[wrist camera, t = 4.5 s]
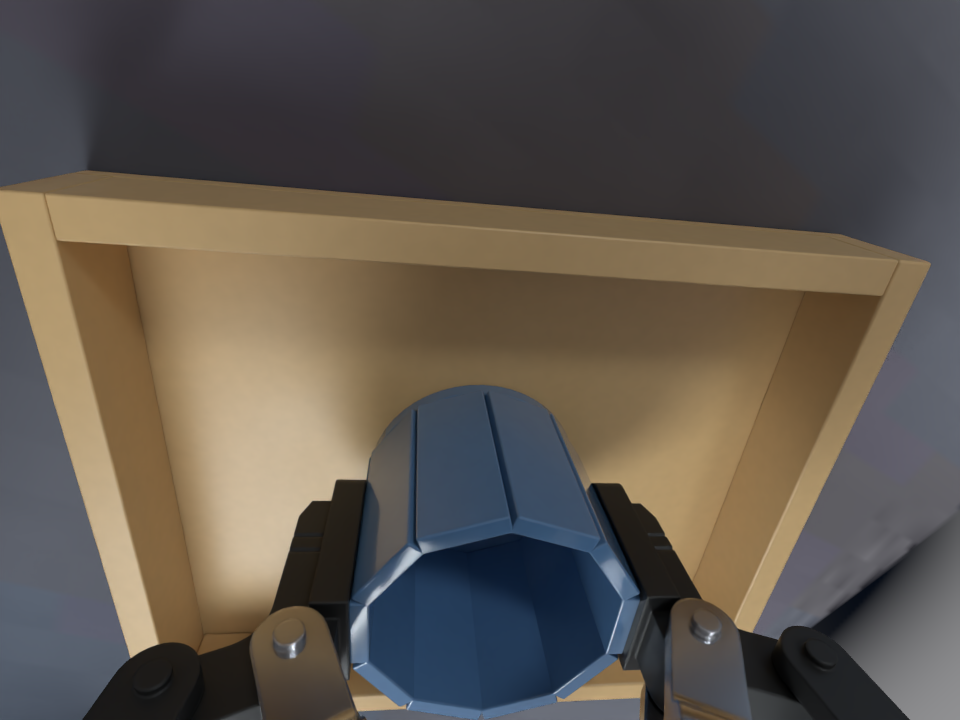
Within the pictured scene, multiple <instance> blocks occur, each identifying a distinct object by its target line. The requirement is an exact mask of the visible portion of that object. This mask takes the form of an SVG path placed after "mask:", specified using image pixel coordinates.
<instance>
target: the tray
mask: <svg viewBox="0 0 960 720" xmlns="http://www.w3.org/2000/svg"><path fill="white" fill-rule="evenodd" d="M0 224H1V227H2V230H3V234H4V237H5V240H6V244H7V247H8V250H9V254H10V257H11V260H12V264H13V267H14V270H15V274H16V277H17V280H18V284H19V287H20V290H21V294H22V297H23V300H24V304H25V307H26V310H27V314H28V317H29V320H30V324H31V327H32V330H33V334H34V337H35V340H36V344H37V347H38V350H39V354H40V357H41V361H42V364H43V367H44V371H45V374H46V377H47V381H48V384H49V387H50V391H51V394H52V397H53V401H54V404H55V407H56V411H57V414H58V417H59V421H60V424H61V427H62V431H63V434H64V437H65V441H66V444H67V447H68V451H69V454H70V457H71V461H72V464H73V467H74V471H75V474H76V477H77V481H78V484H79V487H80V491H81V494H82V497H83V501H84V504H85V508H86V511H87V514H88V518H89V521H90V524H91V528H92V531H93V534H94V538H95V541H96V544H97V548H98V551H99V554H100V558H101V561H102V564H103V568H104V571H105V574H106V578H107V581H108V584H109V588H110V591H111V594H112V598H113V601H114V604H115V608H116V611H117V614H118V618H119V621H120V624H121V628H122V631H123V634H124V638H125V641H126V644H127V648H128V651H129V655H130V658H132V657H133V656H135V655H136V654H138V653H139V652H141V651H143V650H145V649H147V648H149V647H152V646H155V645H158V644H162V643H169V642H177V643H183V644H186V645H188V646H190V647H191V648H193V649H194V650H195V651H196V653H197V654H198V655H201V654H204V653H207V652H210V651H213V650H217V649H220V648H223V647H226V646H229V645H232V644H234V643H237V642H239V641H241V640H243V639H245V638H246V637H248V636H249V635H251V634H252V633H253V632H254V631H255V629H256V628H257V627H258V625H259V624H260V623H261V622H262V621H263V620H264V619H265V618H267V617H268V615H269V614H270V612H271V609H272V607H273V603H274V600H275V596H276V593H277V590H278V586H279V583H280V579H281V576H282V573H283V569H284V566H285V562H286V559H287V555H288V552H289V550H290V545H291V542H292V538H293V537H294V532H295V528H296V525H297V521H298V518H299V515H300V514H301V513H302V512H303V511H304V510H305V509H306V508H307V506H308V505H309V504H310V503H311V502H312V501H331V500H332V495H333V491H334V486H335V482H336V480H337V479H343V480H366V476H367V470H368V463H369V458H370V457H371V454H372V451H373V450H374V449H375V447H376V445H377V442H378V440H379V438H380V437H381V435H382V433H383V432H384V430H385V429H386V428H387V426H388V425H389V424H390V423H391V422H392V420H393V419H394V418H395V417H396V416H398V415H399V414H400V413H401V412H402V411H403V410H404V409H406V408H407V407H409V406H410V405H412V404H413V403H414V402H416V401H418V400H420V399H422V398H424V397H426V396H428V395H430V394H433V393H435V392H438V391H441V390H445V389H449V388H452V387H458V386H465V385H491V386H499V387H503V388H508V389H512V390H514V391H517V392H520V393H523V394H525V395H527V396H529V397H531V398H533V399H535V400H536V401H538V402H539V403H541V404H542V405H543V406H545V407H546V408H547V409H548V410H549V411H550V412H551V413H552V414H553V415H554V416H555V417H556V418H557V420H558V421H559V422H560V423H561V425H562V427H563V429H564V430H565V432H566V434H567V437H568V439H569V441H570V442H571V444H572V445H573V447H574V449H575V450H576V452H577V453H578V455H579V457H580V459H581V461H582V464H583V466H584V468H585V470H586V473H587V475H588V477H589V479H590V481H591V483H619V484H621V485H622V486H623V488H624V490H625V492H626V494H627V495H628V497H629V499H630V501H631V503H641V504H642V505H643V506H644V507H645V508H646V509H647V510H648V511H649V512H650V513H652V514H653V515H654V516H655V517H656V519H657V520H658V522H659V524H660V526H661V527H662V529H663V531H664V533H665V537H667V538H668V540H669V541H670V543H671V545H672V549H673V550H675V552H676V554H677V556H678V557H679V559H680V561H681V563H682V564H683V566H684V568H685V570H686V571H687V573H688V575H689V577H690V578H691V580H692V582H693V584H694V585H695V587H696V589H697V591H698V592H699V594H700V596H701V598H702V599H703V600H705V601H707V602H710V603H712V604H713V605H715V606H717V607H718V608H720V609H721V610H722V611H724V612H725V613H726V614H727V615H728V616H729V617H730V618H731V619H732V621H733V622H734V623H735V625H736V627H737V628H738V629H741V630H744V631H747V632H751V633H752V632H753V630H754V628H755V626H756V624H757V622H758V620H759V618H760V616H761V614H762V611H763V609H764V607H765V605H766V603H767V601H768V599H769V597H770V595H771V593H772V591H773V589H774V587H775V585H776V583H777V581H778V579H779V576H780V574H781V572H782V570H783V568H784V566H785V564H786V562H787V560H788V558H789V556H790V554H791V552H792V550H793V548H794V546H795V544H796V542H797V539H798V537H799V535H800V533H801V531H802V529H803V527H804V525H805V523H806V521H807V519H808V517H809V515H810V513H811V511H812V509H813V507H814V505H815V502H816V500H817V498H818V496H819V494H820V492H821V490H822V488H823V486H824V484H825V482H826V480H827V478H828V476H829V474H830V472H831V470H832V467H833V465H834V463H835V461H836V459H837V457H838V455H839V453H840V451H841V449H842V447H843V445H844V443H845V441H846V439H847V437H848V435H849V433H850V430H851V428H852V426H853V424H854V422H855V420H856V418H857V416H858V414H859V412H860V410H861V408H862V406H863V404H864V402H865V400H866V398H867V396H868V393H869V391H870V389H871V387H872V385H873V383H874V381H875V379H876V377H877V375H878V373H879V371H880V369H881V367H882V365H883V363H884V361H885V359H886V356H887V354H888V352H889V350H890V348H891V346H892V344H893V342H894V340H895V338H896V336H897V334H898V332H899V330H900V328H901V326H902V324H903V321H904V319H905V317H906V315H907V313H908V311H909V309H910V307H911V305H912V303H913V301H914V299H915V297H916V295H917V293H918V291H919V289H920V287H921V284H922V282H923V280H924V278H925V276H926V274H927V272H928V270H929V268H930V266H931V264H930V263H929V262H927V261H924V260H921V259H918V258H915V257H911V256H908V255H905V254H902V253H899V252H895V251H892V250H889V249H886V248H882V247H879V246H876V245H873V244H870V243H866V242H863V241H860V240H857V239H852V238H851V237H847V236H844V235H841V234H832V233H820V232H808V231H796V230H785V229H773V228H761V227H749V226H737V225H726V224H714V223H702V222H690V221H678V220H667V219H655V218H643V217H631V216H619V215H608V214H596V213H584V212H572V211H560V210H548V209H537V208H525V207H513V206H501V205H489V204H478V203H466V202H454V201H442V200H430V199H419V198H407V197H395V196H383V195H371V194H360V193H348V192H336V191H324V190H312V189H301V188H289V187H277V186H265V185H253V184H241V183H230V182H218V181H206V180H194V179H182V178H171V177H159V176H147V175H135V174H123V173H112V172H100V171H88V170H85V171H80V172H75V173H69V174H64V175H59V176H54V177H49V178H44V179H39V180H34V181H29V182H24V183H19V184H14V185H9V186H4V187H0ZM352 665H353V663H351V670H350V678H349V680H346V681H347V683H348V686H349V689H350V692H351V695H352V698H353V701H354V704H355V706H356V709H357V711H374V710H395V709H406V705H404V706H401V707H399V706H398V705H396V704H395V703H394V702H393V701H392V700H390V699H389V698H388V697H387V696H385V695H384V694H383V693H382V692H380V691H379V690H378V689H377V688H376V687H374V686H373V685H372V684H371V683H369V682H368V681H367V680H366V679H364V678H363V677H362V676H361V675H360V674H358V673H357V672H356V671H355V670H353V668H352ZM644 682H645V681H644V679H643V676H642V673H641V671H640V670H625V671H623V669H622V666H621V663H620V661H619V658H618V660H616V661H615V662H614V663H612V664H611V665H610V666H608V667H607V668H606V669H604V670H603V671H602V672H600V673H599V674H598V675H596V676H595V677H594V678H592V679H591V680H589V681H588V682H587V683H585V684H584V685H583V686H581V687H580V688H579V689H577V690H576V691H575V692H573V693H572V694H571V695H569V696H568V697H567V698H565V699H562V698H559V697H557V702H563V701H584V700H605V699H626V698H640V697H641V690H642V687H643V684H644Z"/></svg>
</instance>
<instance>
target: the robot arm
mask: <svg viewBox="0 0 960 720" xmlns="http://www.w3.org/2000/svg"><path fill="white" fill-rule="evenodd" d="M366 483H367V481H366V480H343V479H337V480H336V482H335V486H334V491H333V495H332V500H331V501H312V502H311V503H310V504H309V505H308V506H307V508H306V509H305V510H304V511H303V512H302V513H301V514H300V515H299V518H298V521H297V525H296V528H295V532H294V537H293V538H292V542H291V545H290V550H289V552H288V555H287V559H286V562H285V566H284V569H283V573H282V576H281V579H280V583H279V586H278V590H277V593H276V596H275V600H274V603H273V607H272V609H271V612H270V614H269V615H268V617H267V618H265V619H264V620H263V621H262V622H261V623H260V624H259V625H258V627H257V628H256V629H255V631H254V632H253V633H252V634H251V635H249V636H248V637H246V638H245V639H243V640H241V641H239V642H237V643H234V644H232V645H229V646H226V647H223V648H220V649H217V650H213V651H210V652H207V653H204V654H201V655H198V654H197V653H196V651H195V650H194V649H193V648H191V647H190V646H188V645H186V644H183V643H177V642H169V643H162V644H158V645H155V646H152V647H149V648H147V649H145V650H143V651H141V652H139V653H138V654H136V655H135V656H133V657H132V658H131V659H129V660H128V661H127V662H126V663H125V664H124V665H123V666H122V667H121V668H120V669H119V670H118V671H117V672H116V674H115V675H114V676H113V678H112V679H111V680H110V682H109V683H108V685H107V686H106V687H105V689H104V690H103V692H102V693H101V694H100V696H99V697H98V699H97V700H96V701H95V703H94V704H93V706H92V707H91V708H90V710H89V711H88V713H87V714H86V715H85V717H84V718H83V720H366V718H365V717H364V716H363V715H361V716H360V715H359V713H358V711H357V709H356V706H355V704H354V701H353V698H352V695H351V692H350V689H349V686H348V683H347V681H346V680H349V678H350V670H351V663H350V615H349V604H350V597H351V590H352V583H353V576H354V568H355V561H356V554H357V547H358V540H359V533H360V526H361V519H362V511H363V504H364V497H365V490H366ZM591 484H592V486H593V488H594V490H595V493H596V495H597V497H598V499H599V501H600V504H601V506H602V508H603V510H604V513H605V515H606V517H607V519H608V521H609V524H610V526H611V528H612V530H613V533H614V535H615V537H616V539H617V541H618V544H619V546H620V548H621V550H622V553H623V555H624V557H625V559H626V561H627V564H628V566H629V568H630V570H631V573H632V575H633V577H634V579H635V581H636V584H637V586H638V588H639V590H640V594H639V597H640V602H639V605H638V608H637V611H636V614H635V617H634V620H633V623H632V626H631V629H630V632H629V635H628V638H627V641H626V644H625V647H624V650H623V653H622V654H617V655H618V658H619V661H620V663H621V666H622V669H623V671H625V670H640V671H641V673H642V676H643V679H644V681H645V682H644V684H643V687H642V690H641V697H640V718H639V720H910V719H909V718H907V716H906V715H905V714H904V713H902V711H901V710H900V709H899V708H898V707H897V706H896V705H895V703H894V702H893V701H892V700H891V699H890V698H889V697H888V696H887V695H886V694H885V693H884V692H883V691H882V690H881V689H880V687H878V685H877V684H876V683H875V682H874V681H873V680H872V679H871V678H870V677H869V676H868V675H867V674H866V673H865V672H864V670H862V668H861V667H860V666H859V665H858V664H857V663H856V662H855V661H854V660H853V659H852V658H851V657H850V656H849V655H848V653H847V652H846V651H845V650H844V649H843V648H842V647H841V646H840V645H838V644H837V643H836V642H835V641H834V640H832V639H831V638H829V637H828V636H826V635H824V634H823V633H821V632H819V631H816V630H814V629H811V628H808V627H804V626H791V627H788V628H787V629H785V630H784V631H783V633H782V634H781V636H780V638H779V640H777V639H773V638H769V637H766V636H762V635H758V634H755V633H751V632H747V631H744V630H741V629H738V628H737V627H736V625H735V623H734V622H733V621H732V619H731V618H730V617H729V616H728V615H727V614H726V613H725V612H724V611H722V610H721V609H720V608H718V607H717V606H715V605H713V604H712V603H710V602H707V601H705V600H703V599H702V598H701V596H700V594H699V592H698V591H697V589H696V587H695V585H694V584H693V582H692V580H691V578H690V577H689V575H688V573H687V571H686V570H685V568H684V566H683V564H682V563H681V561H680V559H679V557H678V556H677V554H676V552H675V550H673V549H672V545H671V543H670V541H669V540H668V538H667V537H665V533H664V531H663V529H662V527H661V526H660V524H659V522H658V520H657V519H656V517H655V516H654V515H653V514H652V513H650V512H649V511H648V510H647V509H646V508H645V507H644V506H643V505H642V504H641V503H631V501H630V499H629V497H628V495H627V494H626V492H625V490H624V488H623V486H622V485H621V484H619V483H591Z"/></svg>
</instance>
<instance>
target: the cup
mask: <svg viewBox="0 0 960 720" xmlns="http://www.w3.org/2000/svg"><path fill="white" fill-rule="evenodd" d="M366 481H367V483H366V490H365V497H364V504H363V511H362V519H361V526H360V533H359V540H358V547H357V554H356V561H355V568H354V576H353V583H352V590H351V597H350V604H349V615H350V663H353V665H352V668H353V670H355V671H356V672H357V673H358V674H360V675H361V676H362V677H363V678H364V679H366V680H367V681H368V682H369V683H371V684H372V685H373V686H374V687H376V688H377V689H378V690H379V691H380V692H382V693H383V694H384V695H385V696H387V697H388V698H389V699H390V700H392V701H393V702H394V703H395V704H396V705H398V706H399V707H401V706H404V705H406V709H407V710H412V711H418V712H425V713H432V714H439V715H445V716H452V717H459V718H466V719H472V720H477V719H478V718H479V717H480V715H481V714H482V715H483V718H484V719H490V718H494V717H498V716H503V715H507V714H511V713H515V712H519V711H524V710H528V709H532V708H536V707H540V706H544V705H549V704H553V703H556V702H557V697H559V698H562V699H565V698H567V697H568V696H569V695H571V694H572V693H573V692H575V691H576V690H577V689H579V688H580V687H581V686H583V685H584V684H585V683H587V682H588V681H589V680H591V679H592V678H594V677H595V676H596V675H598V674H599V673H600V672H602V671H603V670H604V669H606V668H607V667H608V666H610V665H611V664H612V663H614V662H615V661H616V660H618V655H617V654H622V653H623V650H624V647H625V644H626V641H627V638H628V635H629V632H630V629H631V626H632V623H633V620H634V617H635V614H636V611H637V608H638V605H639V602H640V597H639V594H640V590H639V588H638V586H637V584H636V581H635V579H634V577H633V575H632V573H631V570H630V568H629V566H628V564H627V561H626V559H625V557H624V555H623V553H622V550H621V548H620V546H619V544H618V541H617V539H616V537H615V535H614V533H613V530H612V528H611V526H610V524H609V521H608V519H607V517H606V515H605V513H604V510H603V508H602V506H601V504H600V501H599V499H598V497H597V495H596V493H595V490H594V488H593V486H592V484H591V481H590V479H589V477H588V475H587V473H586V470H585V468H584V466H583V464H582V461H581V459H580V457H579V455H578V453H577V452H576V450H575V449H574V447H573V445H572V444H571V442H570V441H569V439H568V437H567V434H566V432H565V430H564V429H563V427H562V425H561V423H560V422H559V421H558V420H557V418H556V417H555V416H554V415H553V414H552V413H551V412H550V411H549V410H548V409H547V408H546V407H545V406H543V405H542V404H541V403H539V402H538V401H536V400H535V399H533V398H531V397H529V396H527V395H525V394H523V393H520V392H517V391H514V390H512V389H508V388H503V387H499V386H491V385H465V386H458V387H452V388H449V389H445V390H441V391H438V392H435V393H433V394H430V395H428V396H426V397H424V398H422V399H420V400H418V401H416V402H414V403H413V404H412V405H410V406H409V407H407V408H406V409H404V410H403V411H402V412H401V413H400V414H399V415H398V416H396V417H395V418H394V419H393V420H392V422H391V423H390V424H389V425H388V426H387V428H386V429H385V430H384V432H383V433H382V435H381V437H380V438H379V440H378V442H377V445H376V447H375V449H374V450H373V451H372V454H371V457H370V458H369V463H368V470H367V476H366Z"/></svg>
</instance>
